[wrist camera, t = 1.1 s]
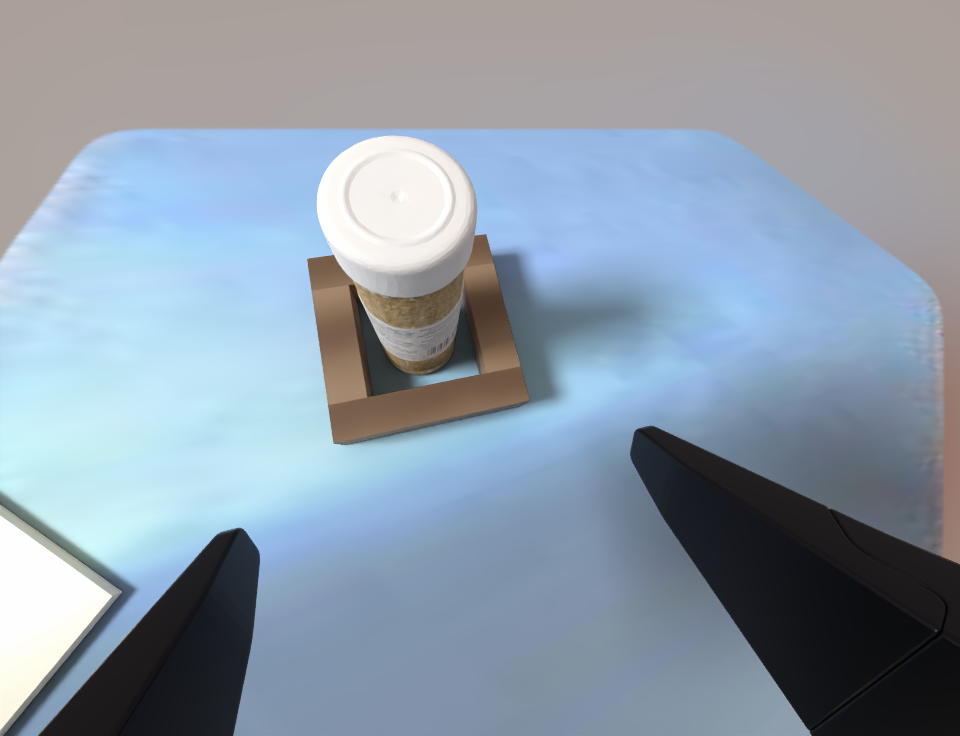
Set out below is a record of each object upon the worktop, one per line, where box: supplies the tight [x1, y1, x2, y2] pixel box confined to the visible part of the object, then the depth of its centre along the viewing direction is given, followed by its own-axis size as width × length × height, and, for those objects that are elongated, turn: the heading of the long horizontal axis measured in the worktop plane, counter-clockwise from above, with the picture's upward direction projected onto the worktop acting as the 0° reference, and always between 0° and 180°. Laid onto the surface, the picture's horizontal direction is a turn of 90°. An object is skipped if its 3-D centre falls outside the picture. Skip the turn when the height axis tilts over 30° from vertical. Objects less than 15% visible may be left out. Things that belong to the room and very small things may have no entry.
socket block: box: [307, 234, 529, 445], centre depth 22 cm, size 11×11×2 cm
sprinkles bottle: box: [317, 136, 477, 375], centre depth 17 cm, size 5×5×14 cm
